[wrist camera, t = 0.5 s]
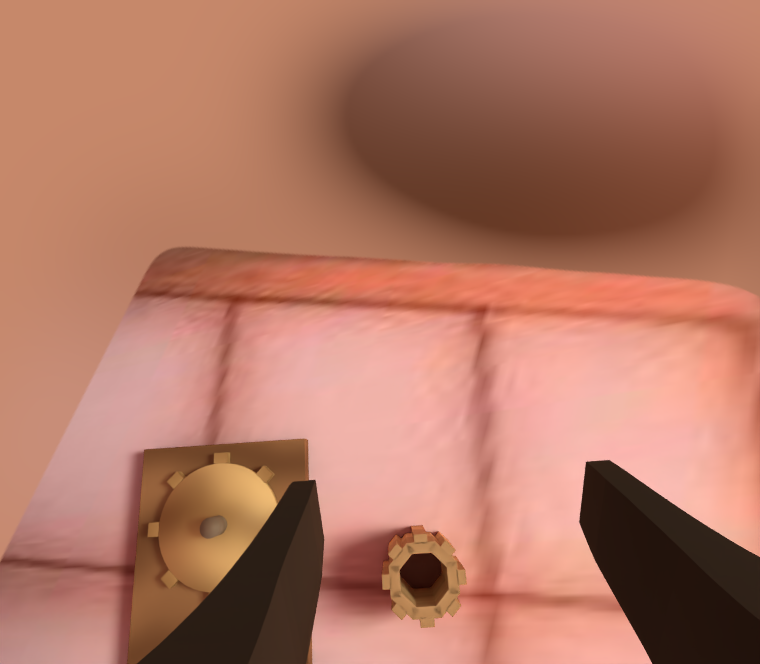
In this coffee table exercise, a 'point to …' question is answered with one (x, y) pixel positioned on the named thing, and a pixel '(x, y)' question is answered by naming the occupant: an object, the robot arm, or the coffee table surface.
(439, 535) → the maple gear
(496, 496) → the coffee table surface
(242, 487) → the gear board
